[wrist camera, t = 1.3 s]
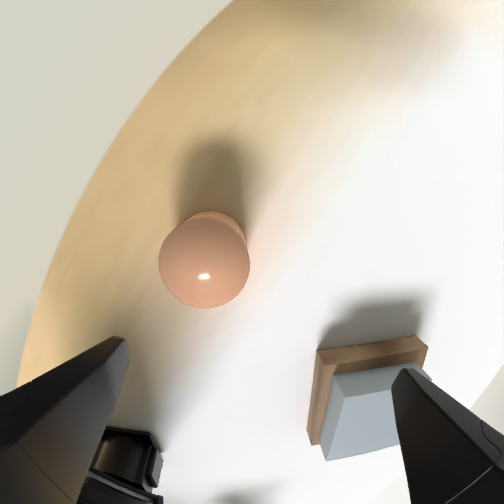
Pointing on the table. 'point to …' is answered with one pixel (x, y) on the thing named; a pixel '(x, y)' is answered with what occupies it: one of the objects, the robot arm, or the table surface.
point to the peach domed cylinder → (205, 260)
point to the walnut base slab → (356, 369)
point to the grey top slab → (361, 412)
